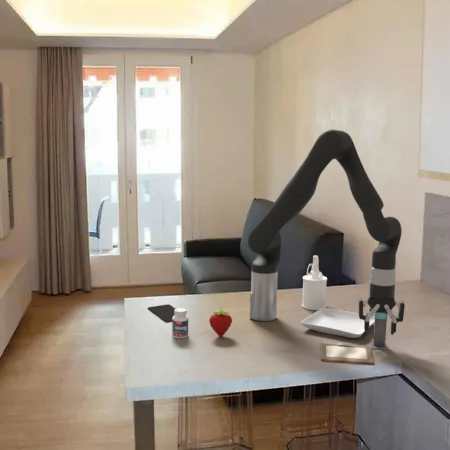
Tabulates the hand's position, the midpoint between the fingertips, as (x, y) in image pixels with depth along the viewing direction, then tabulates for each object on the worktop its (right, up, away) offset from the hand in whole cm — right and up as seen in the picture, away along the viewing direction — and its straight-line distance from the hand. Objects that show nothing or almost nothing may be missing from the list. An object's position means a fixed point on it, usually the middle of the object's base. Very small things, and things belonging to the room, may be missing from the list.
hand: (379, 332), depth 188 cm
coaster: (0, -4, +1) cm, 4 cm away
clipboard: (-12, -5, -6) cm, 14 cm away
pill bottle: (-63, -3, +9) cm, 64 cm away
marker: (0, -4, +1) cm, 4 cm away
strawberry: (-50, -3, +9) cm, 51 cm away
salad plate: (-9, -2, +18) cm, 20 cm away
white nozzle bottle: (-14, +2, +42) cm, 44 cm away
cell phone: (-69, +1, +32) cm, 76 cm away
